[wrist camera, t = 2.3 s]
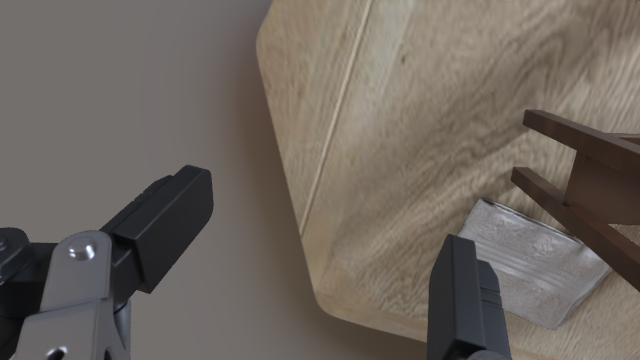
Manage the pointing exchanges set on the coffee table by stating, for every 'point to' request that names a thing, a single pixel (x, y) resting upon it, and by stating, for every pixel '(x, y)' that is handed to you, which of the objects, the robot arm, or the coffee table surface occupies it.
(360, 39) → the coffee table surface
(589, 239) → the stand
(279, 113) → the coffee table surface
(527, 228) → the washcloth
